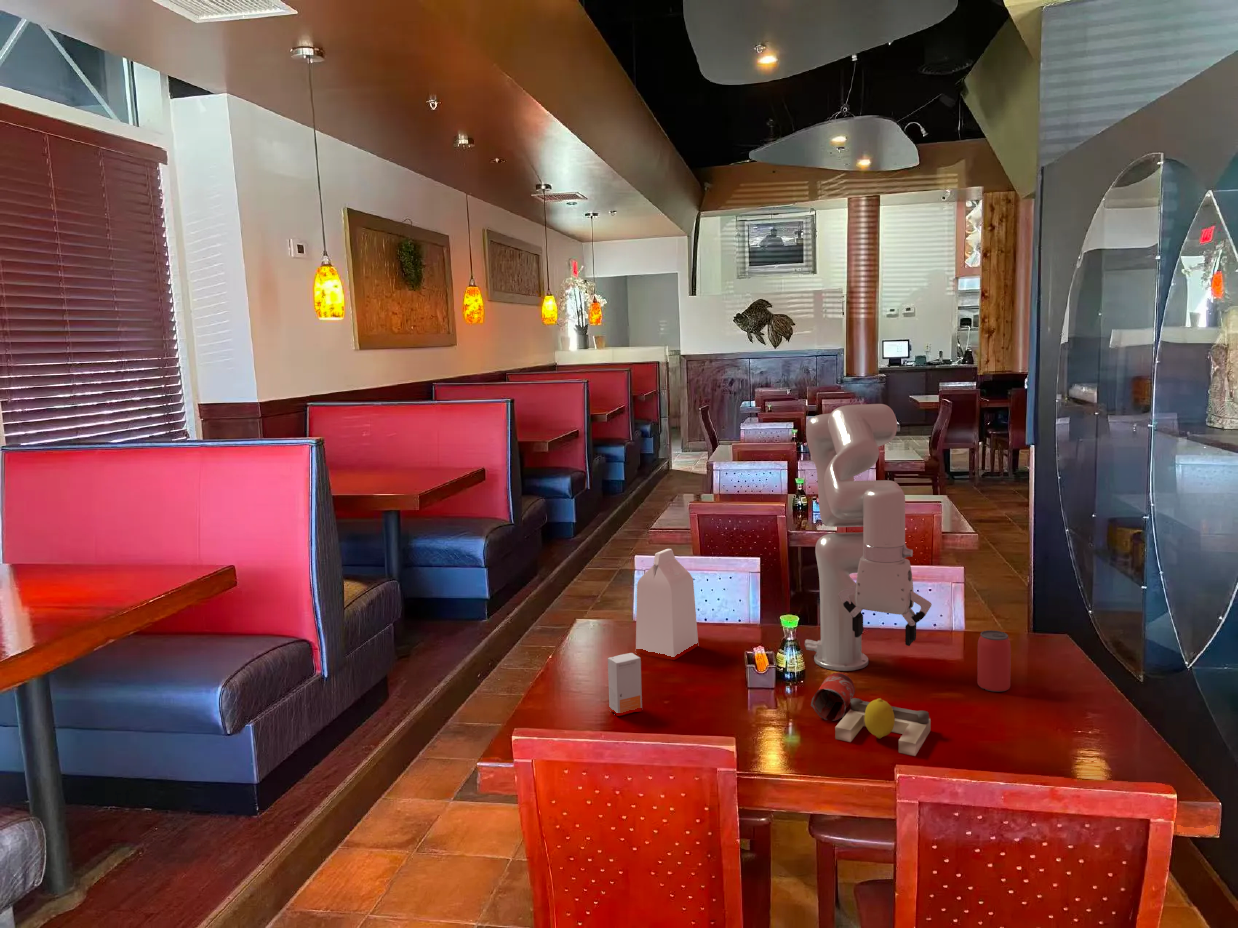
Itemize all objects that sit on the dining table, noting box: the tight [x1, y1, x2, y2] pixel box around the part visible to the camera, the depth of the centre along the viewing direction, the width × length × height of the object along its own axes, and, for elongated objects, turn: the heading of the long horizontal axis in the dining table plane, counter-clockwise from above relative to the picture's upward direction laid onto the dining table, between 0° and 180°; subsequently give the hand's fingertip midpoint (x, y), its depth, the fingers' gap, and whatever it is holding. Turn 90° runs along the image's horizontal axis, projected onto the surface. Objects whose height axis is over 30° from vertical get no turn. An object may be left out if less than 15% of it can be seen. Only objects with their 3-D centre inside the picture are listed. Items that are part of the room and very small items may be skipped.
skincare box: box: [607, 652, 643, 713], centre depth 177 cm, size 6×4×12 cm
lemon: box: [865, 697, 895, 739], centre depth 160 cm, size 6×6×8 cm
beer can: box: [976, 629, 1012, 693], centre depth 182 cm, size 7×7×12 cm
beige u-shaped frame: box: [834, 697, 932, 757], centre depth 162 cm, size 15×12×4 cm
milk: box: [635, 548, 699, 657], centre depth 213 cm, size 12×12×26 cm
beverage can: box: [810, 671, 856, 722], centre depth 174 cm, size 7×12×7 cm, turn 153°
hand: (883, 639), depth 160 cm, fingers open, 9 cm apart
